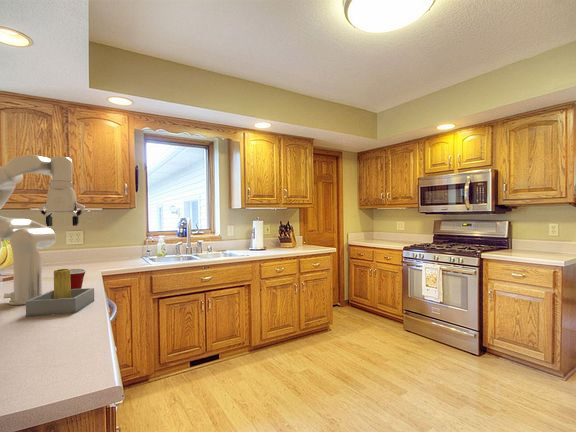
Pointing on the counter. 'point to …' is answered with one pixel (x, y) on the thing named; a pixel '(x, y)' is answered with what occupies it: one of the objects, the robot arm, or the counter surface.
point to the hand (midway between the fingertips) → (62, 225)
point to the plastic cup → (77, 278)
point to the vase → (62, 284)
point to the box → (59, 303)
